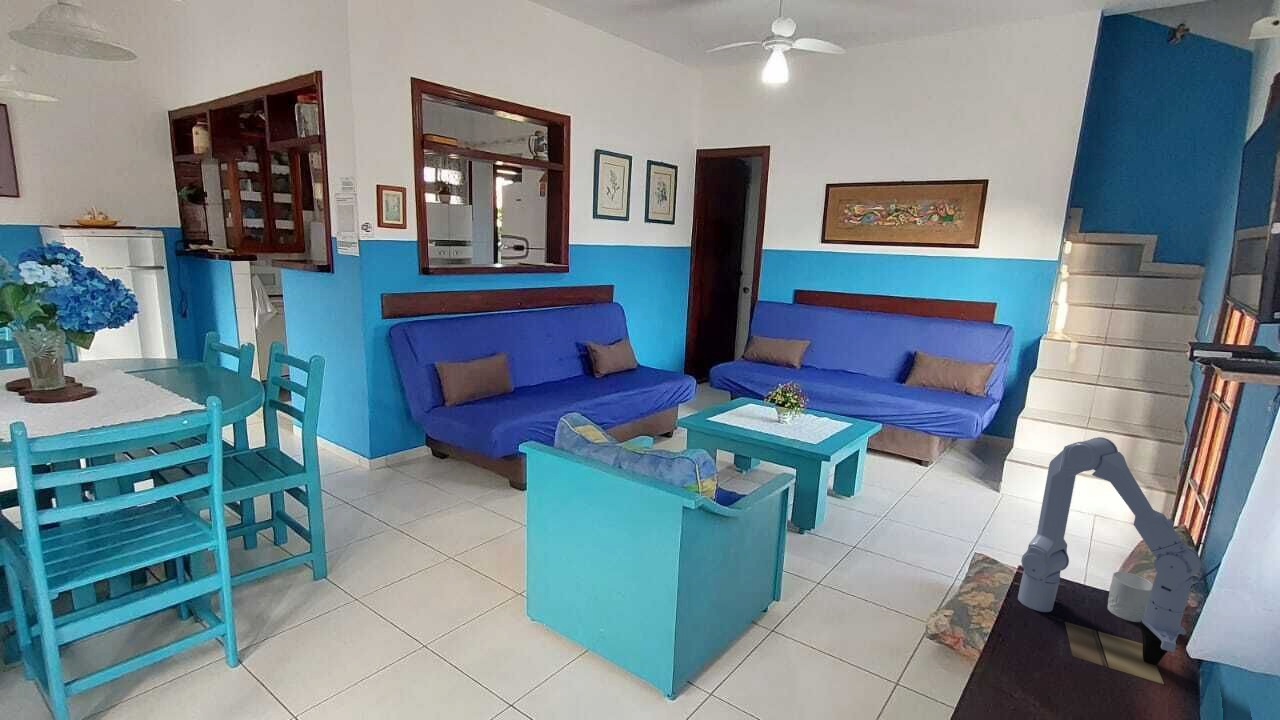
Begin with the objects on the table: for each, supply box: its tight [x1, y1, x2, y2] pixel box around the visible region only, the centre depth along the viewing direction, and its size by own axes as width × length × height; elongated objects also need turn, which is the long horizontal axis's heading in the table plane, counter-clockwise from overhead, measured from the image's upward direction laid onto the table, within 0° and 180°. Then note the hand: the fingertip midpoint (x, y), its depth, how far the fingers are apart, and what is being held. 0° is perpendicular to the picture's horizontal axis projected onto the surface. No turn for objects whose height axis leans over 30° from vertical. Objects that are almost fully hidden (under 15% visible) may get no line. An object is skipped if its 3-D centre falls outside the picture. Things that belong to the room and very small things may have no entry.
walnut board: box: [1064, 621, 1108, 668], centre depth 139 cm, size 14×6×2 cm, turn 153°
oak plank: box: [1097, 631, 1165, 686], centre depth 135 cm, size 14×9×2 cm, turn 153°
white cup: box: [1107, 571, 1153, 623], centre depth 151 cm, size 8×8×10 cm
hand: (1149, 662), depth 134 cm, fingers closed, pressing on oak plank
